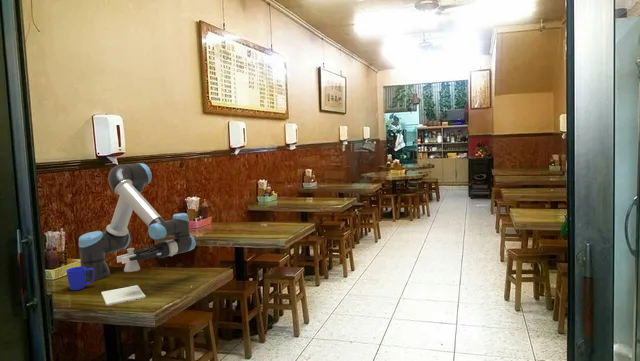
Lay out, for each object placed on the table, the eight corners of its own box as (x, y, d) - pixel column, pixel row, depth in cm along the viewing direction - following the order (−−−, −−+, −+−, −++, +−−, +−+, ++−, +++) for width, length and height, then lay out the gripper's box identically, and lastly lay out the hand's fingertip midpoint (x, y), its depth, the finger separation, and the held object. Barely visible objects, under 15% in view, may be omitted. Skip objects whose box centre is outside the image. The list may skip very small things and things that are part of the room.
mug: (94, 288, 222) (92, 268, 221) (66, 292, 218) (64, 272, 217) (97, 284, 230) (95, 264, 229) (70, 287, 226) (68, 267, 225)
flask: (122, 273, 205) (120, 251, 204) (125, 269, 212) (123, 247, 211) (139, 271, 206) (137, 249, 205) (141, 267, 213) (140, 246, 212)
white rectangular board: (101, 293, 214) (101, 292, 214) (137, 286, 222) (137, 285, 222) (106, 305, 197) (106, 304, 197) (145, 297, 205) (145, 296, 205)
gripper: (176, 258, 218) (130, 271, 199) (156, 254, 228) (110, 265, 209) (175, 243, 217) (128, 254, 199) (155, 239, 227) (109, 249, 209)
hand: (119, 260), depth 204 cm, fingers closed on flask, 3 cm apart
